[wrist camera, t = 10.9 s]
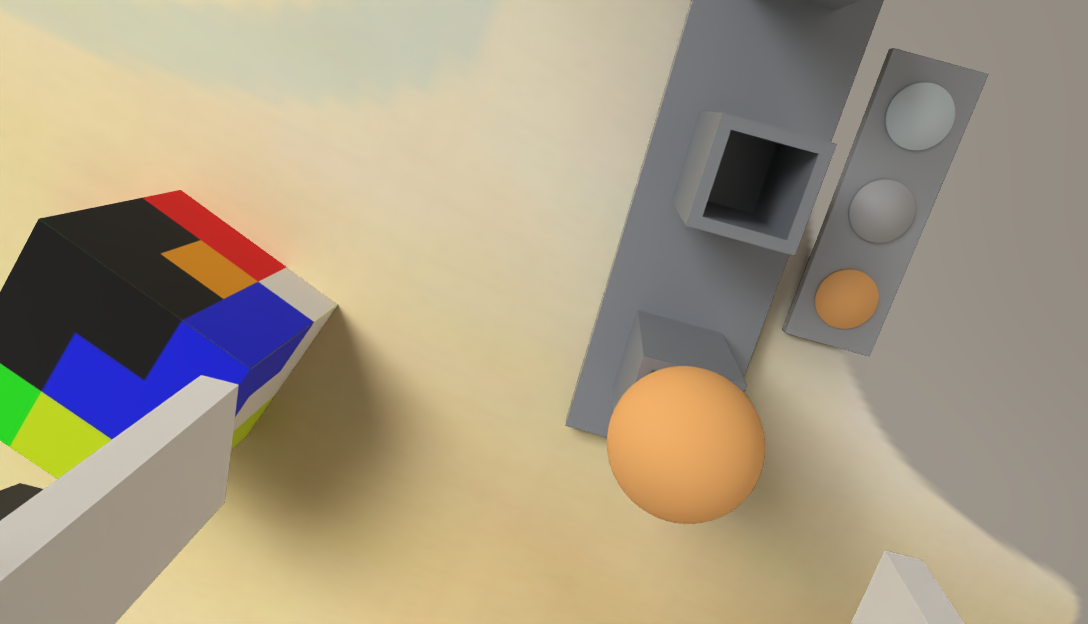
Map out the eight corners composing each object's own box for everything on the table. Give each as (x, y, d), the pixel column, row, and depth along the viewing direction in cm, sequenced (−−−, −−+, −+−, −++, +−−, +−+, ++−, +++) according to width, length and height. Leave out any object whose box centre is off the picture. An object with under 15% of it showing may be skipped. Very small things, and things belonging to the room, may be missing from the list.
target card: (889, 48, 34) (895, 48, 33) (982, 74, 34) (990, 74, 33) (782, 329, 38) (786, 334, 37) (865, 352, 38) (870, 357, 37)
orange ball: (631, 328, 30) (634, 382, 25) (770, 367, 30) (806, 431, 25) (591, 452, 32) (585, 530, 27) (722, 490, 32) (745, 576, 26)
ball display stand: (751, -201, 31) (797, -299, 24) (932, -152, 31) (1037, -234, 24) (566, 418, 40) (556, 492, 32) (707, 457, 40) (731, 542, 32)
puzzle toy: (338, 304, 39) (250, 369, 30) (247, 435, 42) (139, 534, 33) (181, 189, 38) (38, 218, 29) (98, 332, 41) (-58, 401, 32)
